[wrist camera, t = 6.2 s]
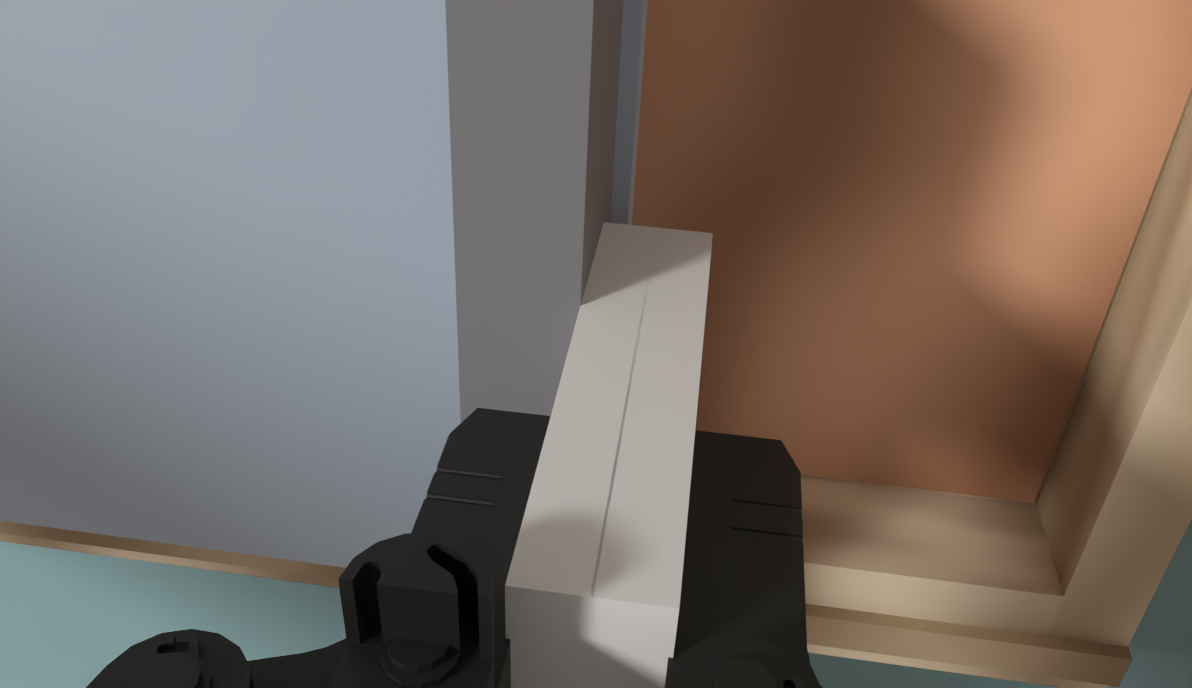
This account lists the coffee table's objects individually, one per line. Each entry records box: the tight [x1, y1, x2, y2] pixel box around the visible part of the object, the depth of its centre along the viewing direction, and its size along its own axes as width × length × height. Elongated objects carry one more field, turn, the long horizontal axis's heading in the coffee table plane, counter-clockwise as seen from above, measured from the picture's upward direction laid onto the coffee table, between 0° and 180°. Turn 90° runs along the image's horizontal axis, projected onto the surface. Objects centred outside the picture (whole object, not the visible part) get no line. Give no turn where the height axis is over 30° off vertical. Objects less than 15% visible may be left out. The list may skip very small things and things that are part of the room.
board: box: [0, 0, 1192, 688], centre depth 18 cm, size 29×18×3 cm, turn 87°
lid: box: [0, 0, 648, 568], centre depth 16 cm, size 14×14×4 cm
